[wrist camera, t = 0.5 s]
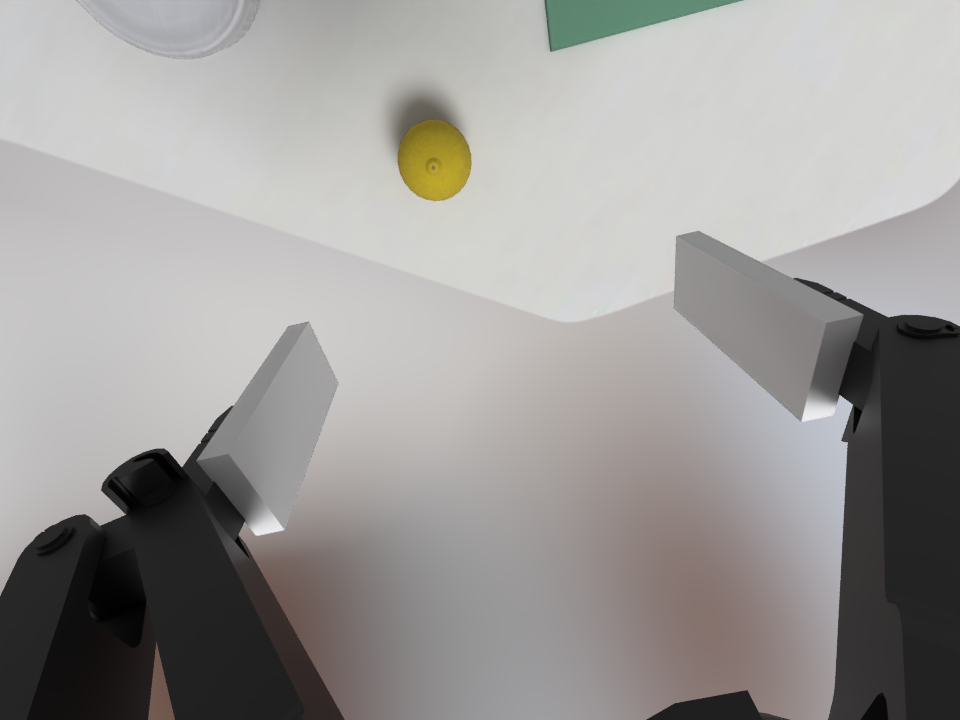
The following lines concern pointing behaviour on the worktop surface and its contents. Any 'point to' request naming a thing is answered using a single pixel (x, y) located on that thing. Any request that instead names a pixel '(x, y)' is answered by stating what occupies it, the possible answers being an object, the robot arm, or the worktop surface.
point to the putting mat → (613, 17)
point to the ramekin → (175, 24)
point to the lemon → (434, 160)
